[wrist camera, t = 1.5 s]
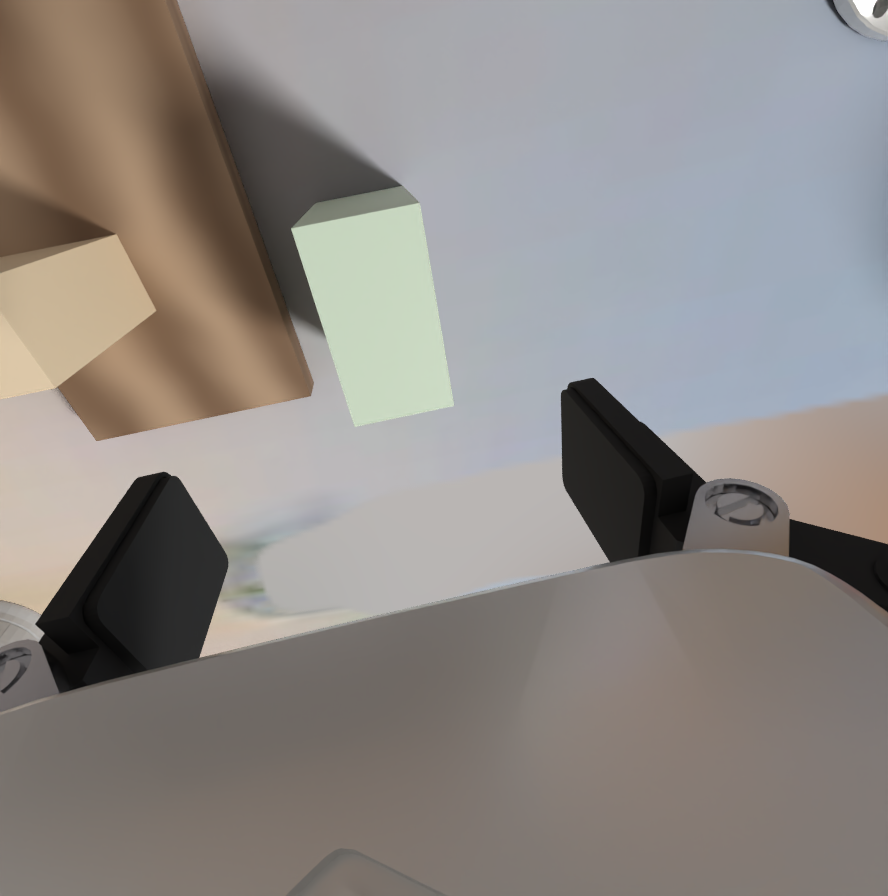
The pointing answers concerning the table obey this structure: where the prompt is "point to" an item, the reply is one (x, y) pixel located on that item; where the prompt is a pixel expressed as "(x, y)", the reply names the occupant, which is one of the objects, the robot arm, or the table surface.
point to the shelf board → (141, 209)
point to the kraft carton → (64, 311)
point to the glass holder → (18, 623)
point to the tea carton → (376, 302)
